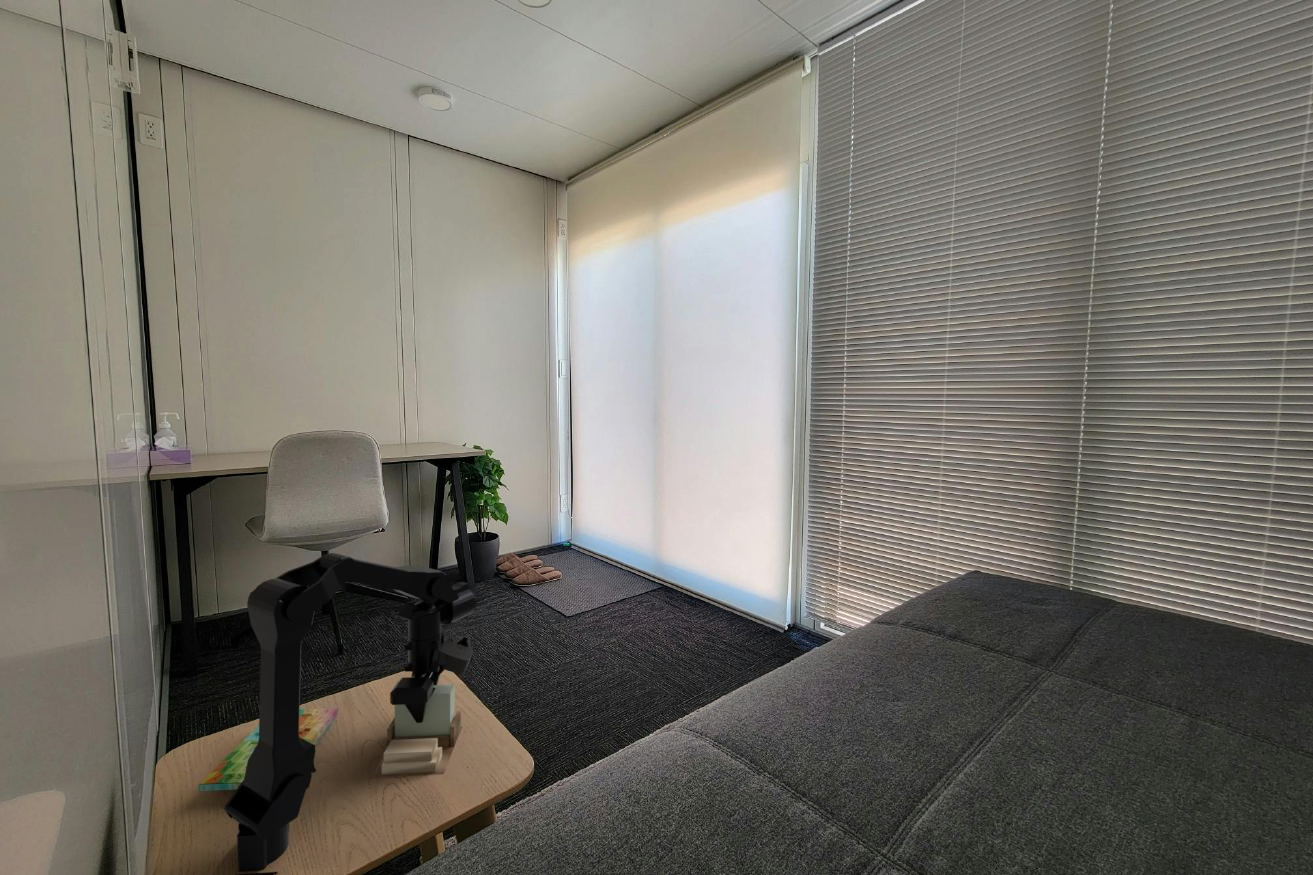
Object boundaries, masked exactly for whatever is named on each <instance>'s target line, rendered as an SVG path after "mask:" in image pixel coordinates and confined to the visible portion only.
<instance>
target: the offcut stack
mask: <svg viewBox="0 0 1313 875" xmlns="http://www.w3.org/2000/svg"><path fill="white" fill-rule="evenodd" d="M383 756H384V762H383V763H382V775H386V774H406V773H426V772H436V770H437V768H438V765H439V763H440V760H441V758H442V747H438V738H426V739H402V740H391V742H390V743H389V745H388V747H386V748H385V751H384V752H383Z"/></svg>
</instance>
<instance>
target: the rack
mask: <svg viewBox="0 0 1313 875" xmlns="http://www.w3.org/2000/svg"><path fill="white" fill-rule="evenodd" d="M462 728H463V726H462V711H461V710H457V711H456V713H455V714H454V720H453V722H452V724H451V727H450V735H434V736H410V737H395V716H394V717H393V719H392V720H391V722H390V724H389V725H388V727H387V730H386V743H387V744H386V746H387V747H388V745H389V743H390V742H391V740H402V739H426V738H438V747H442V758H441V760H440V763H439V765H438V768H437V770H436V772H426V773H406V774H386V775H382V763H383V762H384V755H383V756H382V758H381V760H380V762H379V763H378V765H377V767H376V769H375V770H374V772H373V773H372V775H371V778H389V777H390V778H391V777H407V776H410V777H411V776H428V775H429V776H430V775H444V774H445V772H446V769H447V766H448V764H449V762H450V759H451V756H452V753H453V751H454V748H455V746H456V744H457V740H458V738H459V737H460V733H461V731H462ZM387 747H386V748H387Z"/></svg>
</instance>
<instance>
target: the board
mask: <svg viewBox="0 0 1313 875" xmlns="http://www.w3.org/2000/svg"><path fill="white" fill-rule="evenodd" d="M433 688H435V690H434V692H433V694H432V696H431V697H430V698H429V700H428V702H427V703H426V708H425V714H424V719H423V722H422V723H416V721H415V720H414V718H413V717H412V715H411V713H410V712H409V710H408V709H407V707H406V706H405V705H394V717H395V737H410V736H434V735H450V727H451V724H452V722H453V720H454V717H455V684H437V685H433Z"/></svg>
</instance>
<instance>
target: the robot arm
mask: <svg viewBox="0 0 1313 875" xmlns="http://www.w3.org/2000/svg"><path fill="white" fill-rule="evenodd" d="M346 583H349V584H350V583H352V584H357V585H362V586H363V585H365V586H370V587H377V588H381V589H382V588H383V589H389V590H393V591H395V592H398V593H399V594H402V595H404V596H407V597H410V598H414V599H418V600H420V601H418V602H416V603H411V602H406V604H405V605H404V606H403V607H402V608H401V609H400V610H399V611H398V612H397V614H396V615H397V617H399V618H402V619H405V620H407V621H408V622H407V623H408V629H407V630H408V632H407V633H408V634H407V635H408V638H407V641H406V643H405V644H404V651H407V652H408V654H407V655H408V656H407V657H408V659H407V660H408V661H407V662H406V664H405V665H404V673H406V672H407V673H409V672H411V675H410V677H409V676H408V677H407V676H406V677H402V678H400V679H399V680H398V681H397V682H396V683H395V685H394V687H393V688H392V689H391V691H390V694H389V696H390V697H389V701H390V702H389V703H390V705H392V706H395V705H405V706H406V707H407V709H408V710H409V712H410V713H411V715H412V717H413V718H414V720H415V721H416V723H422V722H423V719H424V714H425V708H426V703H427V702H428V700H429V698H430V697H431V696H432V694H433V692H434V690H435V688H433V685H439V680H440V675H441V674H442V673H443V672H444V671H447V672H451V673H454V674H455V675H458V676H463V675H464V674H465V672H466V670H467V668H468V666H469V663H470V662H471V661H470V660H471V658H472V655H473V654H474V649H473V648H474V646H473V645H472V644H471V637H470V636H466V635H464V634H463V635H461V637H459V638H458V639H457V640H453V641H452V640H450V639H447V636H446V634H445V632H442V624H444V625H450V624H452V623H454V622H456V621H459V620H460V619H463V618H465V617H466V616H469V615H471V614H473V613H474V612H475V611H476V608H477V600H476V597H475V595H474V593H473V591H472V590H471V589H470V588H469V586H470V585H469V583H467V582H464V581H463V582H462V581H460V582H457V583H456V584H455V585H453V586H452V585H451V584H450V583H449V582H448V579H447V574H446V572H444V571H442V570H438V569H434V568H431V567H425V566H421V565H403V566H393V565H386V564H381V563H377V562H372V561H366V560H362V559H357V558H353V557H351V556H349V555H343V554H341V553H338V552H337V553H336V552H329V553H326V554H323V555H322V556H319V557H318V558H316V559H315V560H313V561H311V562H309V563H307V564H303V565H301V566H298V567H295V568H292V569H290V570H288V571H285V572H283V573H282V574H280V575H278V576H276V577H275V578H270V579H268V580H264V581H262V582H261V583H260V584H258V585H257V586H256V588H255V589H253V590H252V591H251V592H250V593H249V595H248V598H247V602H246V604H247V605H246V606H247V611H248V616H249V621H250V626H251V628H252V630H253V632H254V634H255V637H256V640H258V643H259V645H260V646H259V647H260V668H259V670H260V672H259V674H260V675H259V676H260V677H259V708H258V709H259V714H258V726H259V741H258V744H257V746H256V748H255V749H254V751H253V752H252V754H251V756H250V757H249V759H248V762H247V767H246V772H245V777H244V780H243V781H242V783H241V784H240V785H239V787H238V788H237V789H235V791H234V792H233V794H232V795H231V797H230V798H229V799H228V801H227V803H225V805H224V806H223V810H224V812H225V813H226V815H227V816H228V817H229V818H230V819H233V820H234V821H236V822H237V823H238V827H237V828H238V829H237V830H238V833H237V834H236V845H237V846H236V847H237V871H238V872H239V873H237V874H236V875H273V874H275V875H277V874H278V871H268V872H267V871H266V872H260V871H263V870H265V869H266V868H267V867H268V865H270V864H272V863H273V862H275V861H276V860H278V859H279V858H280V857H281V856H282V855H283V854H285V852H286V851H287V848H288V847H289V834H290V823H292V821H294V820H295V819H297V818H298V816H299V814H300V810H301V808H302V804H303V800H304V797H305V794H306V791H307V789H309V787H310V784H311V782H312V774H314V773H316V772H317V769H316V767H315V757H316V751H317V750H316V744H315V745H314V744H312V743H310V742H308V741H306V740H304V739H302V738H300V737H299V710H300V702H301V701H300V700H301V698H300V697H301V670H302V669H301V668H302V667H301V665H302V663H301V662H302V643H303V639H305V637H306V635H307V633H308V632H309V630H310V628H311V627H312V625H313V621H314V616H315V611H316V610H318V609H319V608H321V607H323V606H324V605H326V604H327V603H328V602H329V601H330V600H331V599H332V598H333V596H334V595H335V594H336V593H337V591H338V590H339V588H340V587H341V586H342V585H345V584H346ZM471 645H472V646H471ZM257 871H259V872H257ZM242 872H253V873H242Z"/></svg>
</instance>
